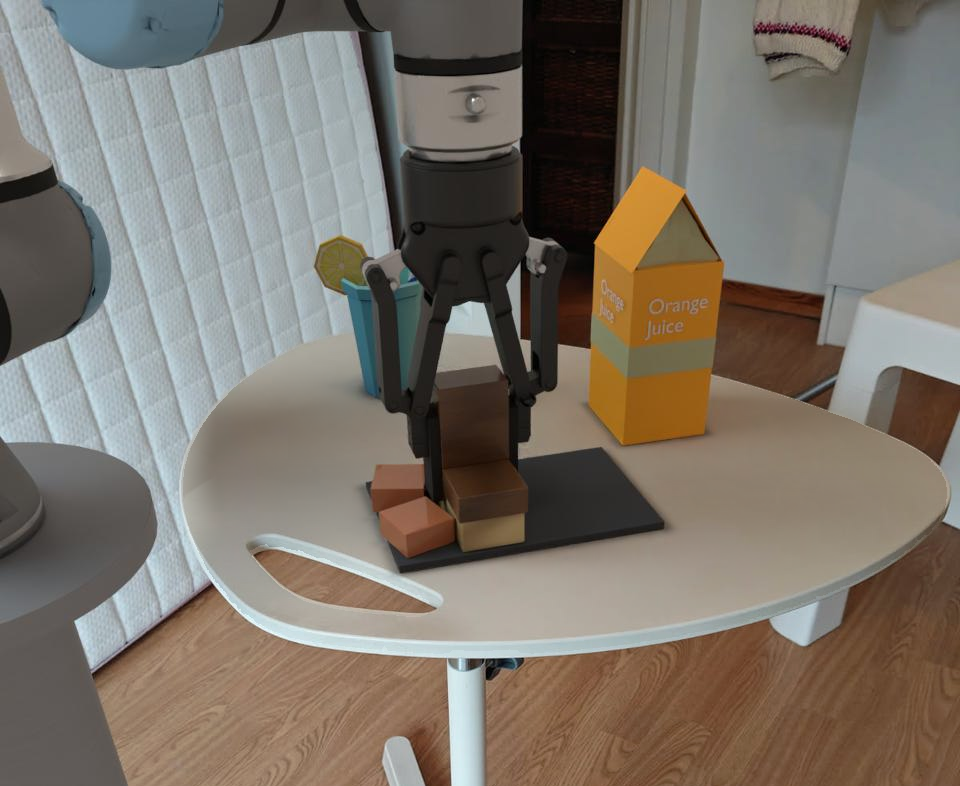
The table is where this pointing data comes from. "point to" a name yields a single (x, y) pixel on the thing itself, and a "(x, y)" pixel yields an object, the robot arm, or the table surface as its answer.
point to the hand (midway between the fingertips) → (471, 486)
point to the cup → (369, 304)
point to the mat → (559, 508)
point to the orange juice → (653, 315)
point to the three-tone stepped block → (478, 458)
